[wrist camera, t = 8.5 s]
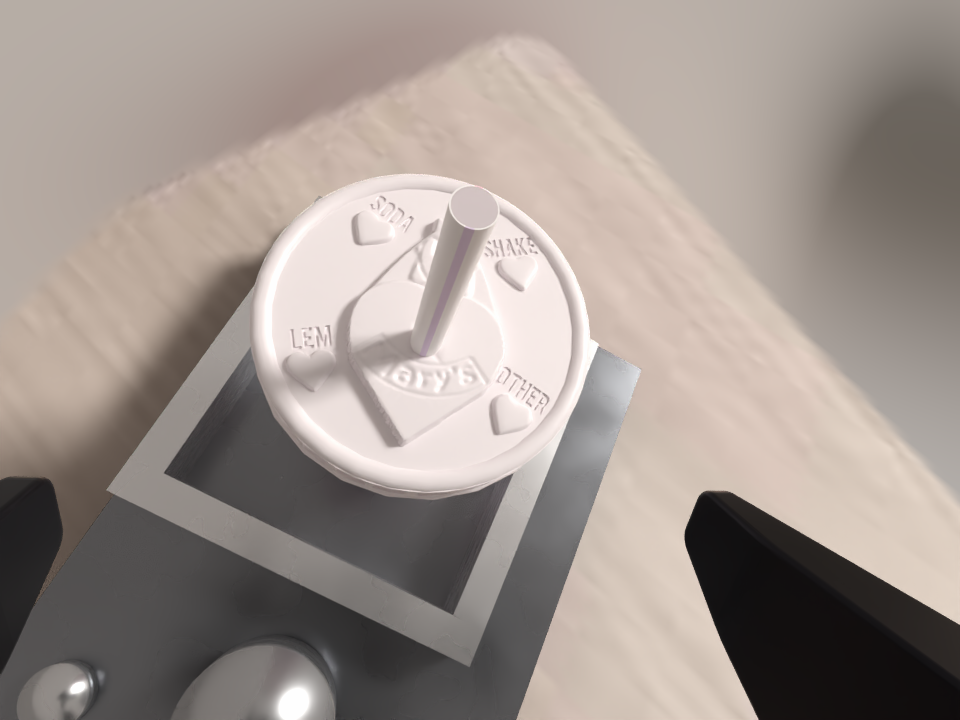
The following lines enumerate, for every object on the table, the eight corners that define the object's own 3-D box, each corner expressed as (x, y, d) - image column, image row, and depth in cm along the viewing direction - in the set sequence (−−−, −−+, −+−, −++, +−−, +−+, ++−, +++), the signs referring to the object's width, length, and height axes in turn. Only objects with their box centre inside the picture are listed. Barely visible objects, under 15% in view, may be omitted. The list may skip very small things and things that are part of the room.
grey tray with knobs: (421, 928, 16) (439, 1025, 13) (-27, 725, 15) (-127, 772, 12) (624, 379, 23) (668, 352, 20) (325, 222, 22) (321, 168, 19)
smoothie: (271, 497, 17) (37, 362, 4) (327, 317, 20) (280, -121, 7) (466, 537, 18) (739, 521, 5) (498, 361, 21) (746, 49, 8)
